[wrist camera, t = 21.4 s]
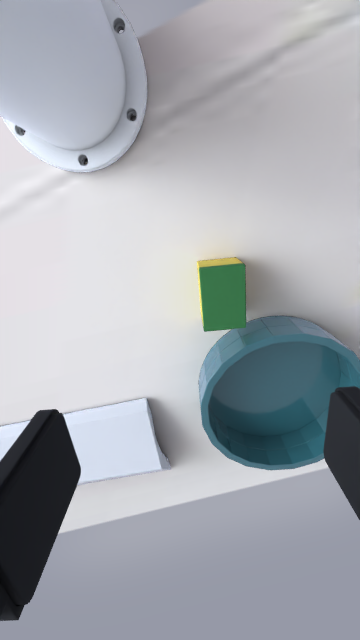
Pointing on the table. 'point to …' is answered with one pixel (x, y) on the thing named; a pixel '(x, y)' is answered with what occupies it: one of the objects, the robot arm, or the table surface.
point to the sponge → (222, 293)
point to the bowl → (273, 391)
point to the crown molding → (107, 441)
